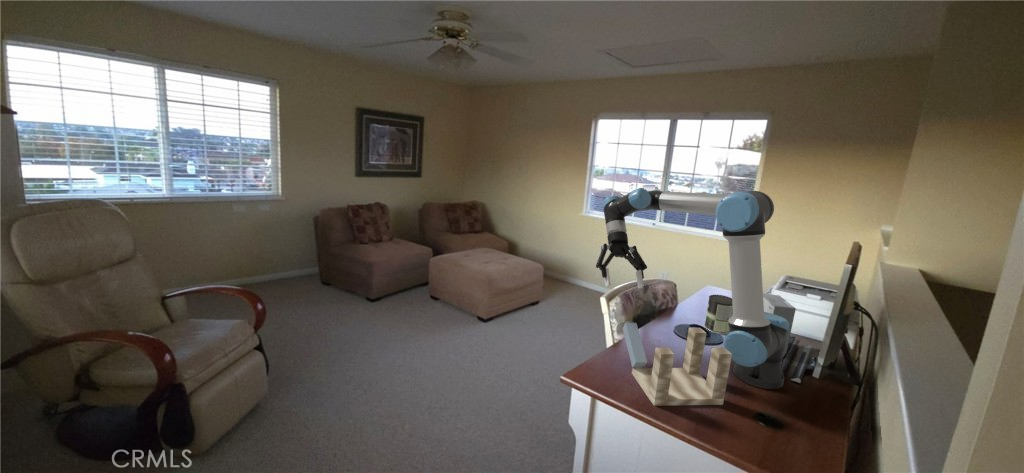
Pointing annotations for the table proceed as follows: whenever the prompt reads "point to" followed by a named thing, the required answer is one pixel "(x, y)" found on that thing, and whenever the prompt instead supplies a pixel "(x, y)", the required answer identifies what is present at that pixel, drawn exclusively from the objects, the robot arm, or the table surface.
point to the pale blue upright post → (634, 344)
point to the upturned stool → (686, 375)
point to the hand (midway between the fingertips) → (624, 286)
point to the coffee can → (718, 314)
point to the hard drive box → (780, 310)
